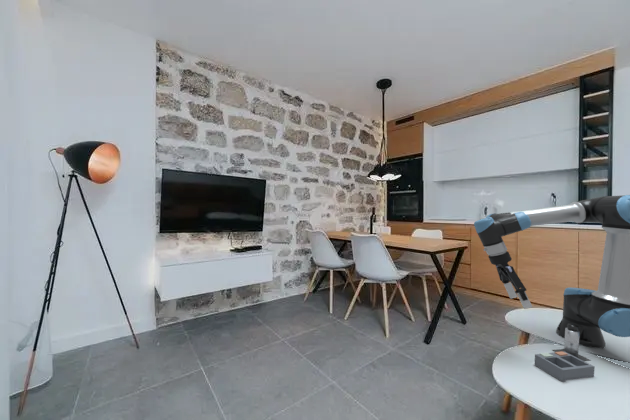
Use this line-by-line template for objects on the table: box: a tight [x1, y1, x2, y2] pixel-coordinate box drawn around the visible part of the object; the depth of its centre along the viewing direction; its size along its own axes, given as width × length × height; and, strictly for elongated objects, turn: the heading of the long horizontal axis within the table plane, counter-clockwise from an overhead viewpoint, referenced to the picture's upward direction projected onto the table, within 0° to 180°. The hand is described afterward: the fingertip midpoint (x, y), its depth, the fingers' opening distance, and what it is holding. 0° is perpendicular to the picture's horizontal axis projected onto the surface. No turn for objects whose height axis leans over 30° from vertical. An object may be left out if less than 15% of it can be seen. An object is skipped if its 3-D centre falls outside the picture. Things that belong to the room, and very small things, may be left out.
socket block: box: [533, 351, 595, 382], centre depth 91 cm, size 14×9×4 cm, turn 101°
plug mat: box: [551, 348, 592, 362], centre depth 100 cm, size 8×8×1 cm
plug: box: [563, 324, 580, 358], centre depth 100 cm, size 4×4×12 cm
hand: (520, 302), depth 104 cm, fingers open, 13 cm apart
